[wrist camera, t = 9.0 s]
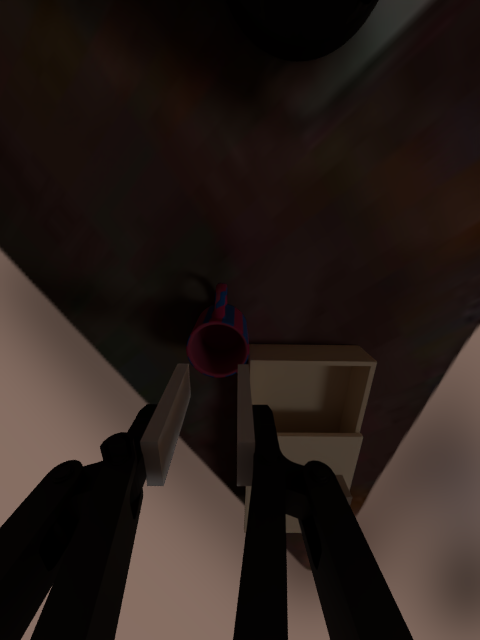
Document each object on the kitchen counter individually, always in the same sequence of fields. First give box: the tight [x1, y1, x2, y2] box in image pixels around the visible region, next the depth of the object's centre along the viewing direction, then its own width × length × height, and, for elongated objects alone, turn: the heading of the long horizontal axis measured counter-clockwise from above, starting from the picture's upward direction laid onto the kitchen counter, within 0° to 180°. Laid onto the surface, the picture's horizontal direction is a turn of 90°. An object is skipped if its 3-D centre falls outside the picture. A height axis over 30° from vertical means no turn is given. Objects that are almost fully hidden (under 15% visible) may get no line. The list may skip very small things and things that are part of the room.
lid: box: [244, 433, 363, 533], centre depth 32 cm, size 20×15×4 cm
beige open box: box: [248, 344, 377, 433], centre depth 33 cm, size 20×15×4 cm
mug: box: [186, 283, 249, 378], centre depth 27 cm, size 7×10×7 cm
